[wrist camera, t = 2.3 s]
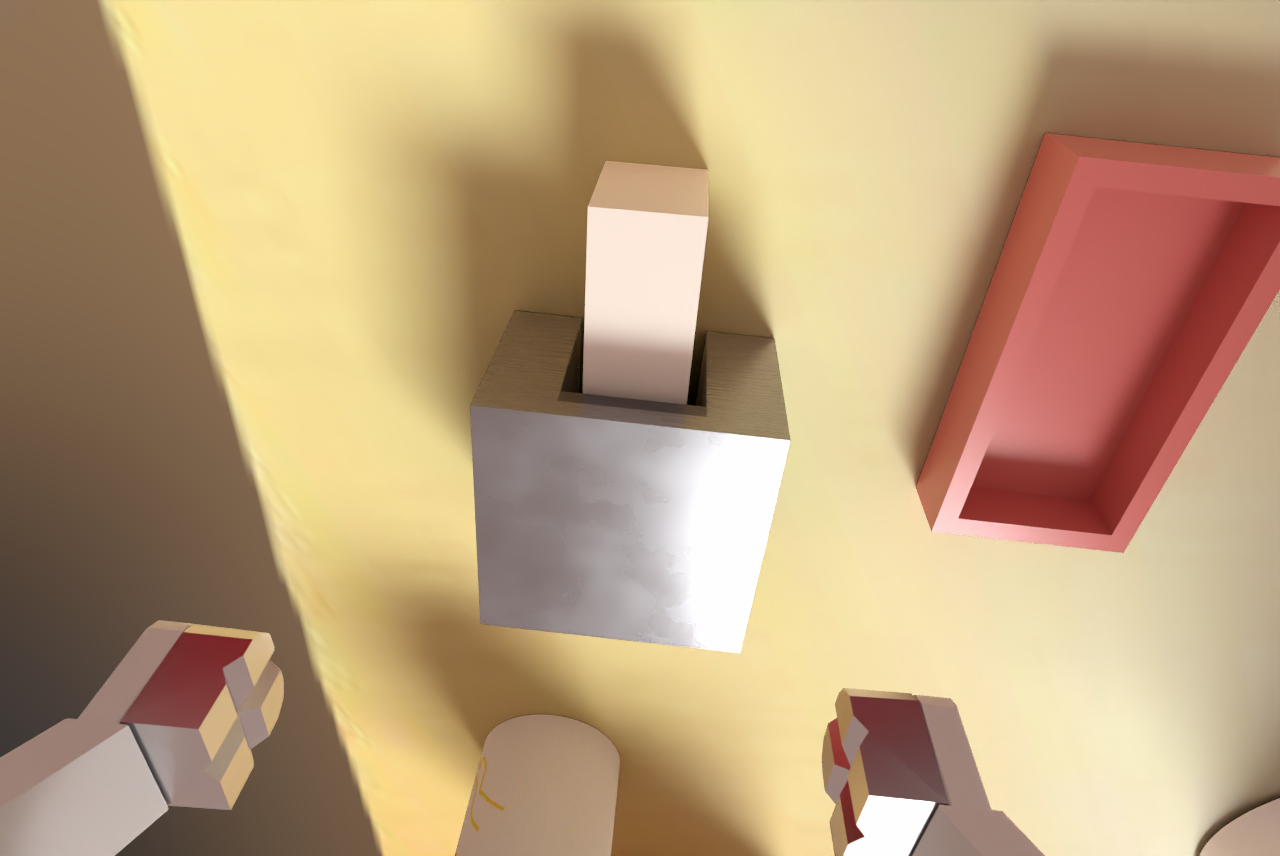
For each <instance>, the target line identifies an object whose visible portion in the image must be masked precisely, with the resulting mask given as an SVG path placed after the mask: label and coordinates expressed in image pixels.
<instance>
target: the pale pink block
mask: <svg viewBox="0 0 1280 856" xmlns="http://www.w3.org/2000/svg"><path fill="white" fill-rule="evenodd" d="M708 218H709V194H708V169H696V168H685V167H673V166H662V165H650V164H639V163H627V162H616V161H605V164H604V166H603V169H602V172H601V174H600V177H599V179H598V182H597V184H596V187H595V189H594V192H593V194H592V197H591V199H590V202H589V205H588V214H587V250H586V285H585V320H584V356H583V391H582V393H583V394H592V395H601V396H610V397H620V398H629V399H638V400H647V401H656V402H666V403H675V404H684V405H687V396H688V388H689V379H690V371H691V362H692V354H693V345H694V337H695V328H696V320H697V311H698V303H699V294H700V286H701V278H702V269H703V261H704V252H705V244H706V235H707V227H708Z"/></svg>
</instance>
